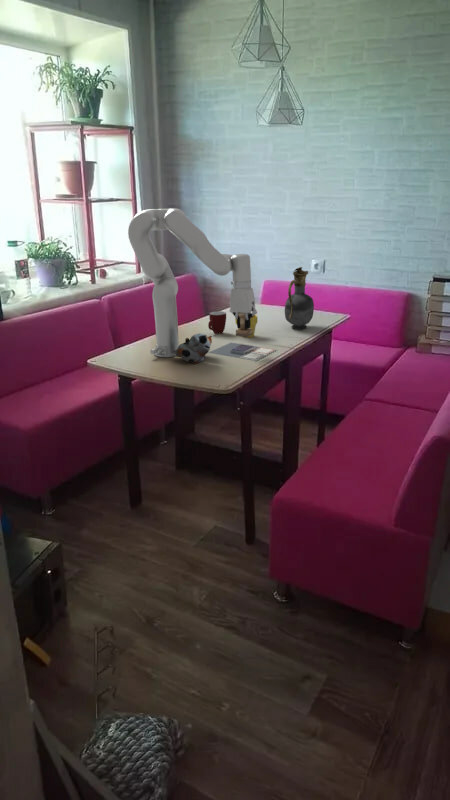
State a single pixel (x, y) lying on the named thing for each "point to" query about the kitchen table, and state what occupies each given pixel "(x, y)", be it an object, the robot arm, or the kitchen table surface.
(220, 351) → the desk mat
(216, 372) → the kitchen table surface
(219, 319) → the mug
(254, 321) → the plant pot
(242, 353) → the ink pad
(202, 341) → the lucky cat figurine
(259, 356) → the paper sheet
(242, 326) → the stamp
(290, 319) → the pitcher
